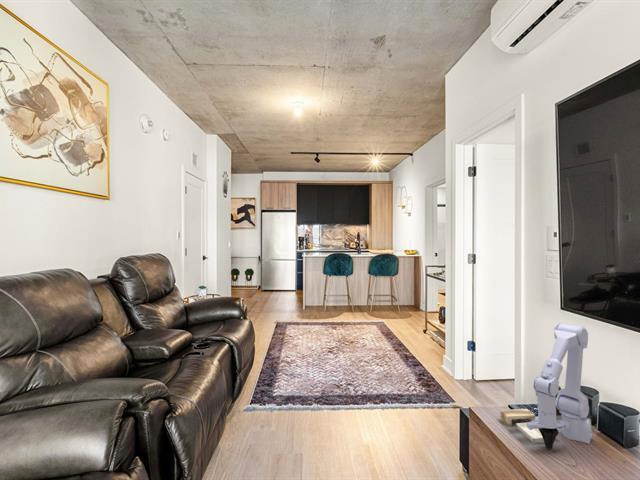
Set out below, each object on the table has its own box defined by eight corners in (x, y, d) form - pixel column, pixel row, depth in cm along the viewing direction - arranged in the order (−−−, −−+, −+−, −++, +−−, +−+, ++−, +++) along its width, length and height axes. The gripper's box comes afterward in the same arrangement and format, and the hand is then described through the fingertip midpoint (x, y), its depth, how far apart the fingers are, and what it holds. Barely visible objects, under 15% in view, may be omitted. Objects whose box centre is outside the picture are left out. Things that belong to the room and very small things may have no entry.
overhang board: (566, 448, 138) (565, 434, 138) (526, 450, 138) (525, 436, 138) (529, 419, 161) (529, 407, 161) (495, 420, 161) (495, 409, 161)
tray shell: (550, 443, 141) (550, 437, 141) (533, 443, 141) (533, 438, 141) (531, 427, 153) (531, 422, 153) (516, 428, 153) (516, 423, 153)
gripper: (559, 404, 141) (560, 440, 141) (521, 406, 141) (523, 442, 140) (572, 413, 134) (573, 450, 134) (532, 415, 134) (534, 453, 133)
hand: (548, 447), depth 137 cm, fingers closed
